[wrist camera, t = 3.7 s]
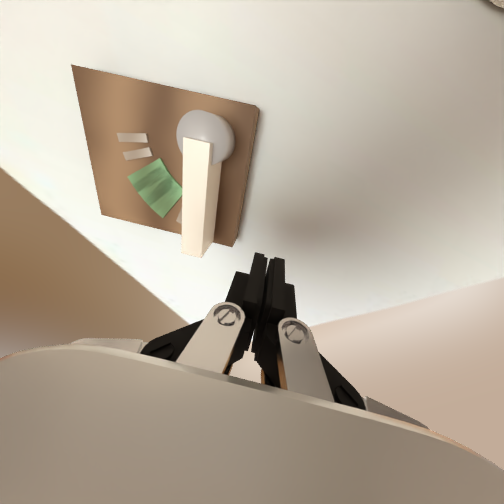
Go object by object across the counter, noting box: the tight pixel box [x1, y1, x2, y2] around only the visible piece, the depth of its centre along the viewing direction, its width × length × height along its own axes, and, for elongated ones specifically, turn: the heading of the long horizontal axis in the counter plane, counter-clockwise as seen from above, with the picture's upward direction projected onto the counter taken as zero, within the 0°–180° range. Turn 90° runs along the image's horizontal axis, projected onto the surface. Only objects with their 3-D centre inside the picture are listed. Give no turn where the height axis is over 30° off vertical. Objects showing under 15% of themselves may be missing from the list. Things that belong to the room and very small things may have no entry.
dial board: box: [71, 65, 259, 247], centre depth 17 cm, size 13×11×2 cm
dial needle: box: [176, 110, 235, 258], centre depth 15 cm, size 10×3×4 cm, turn 169°
